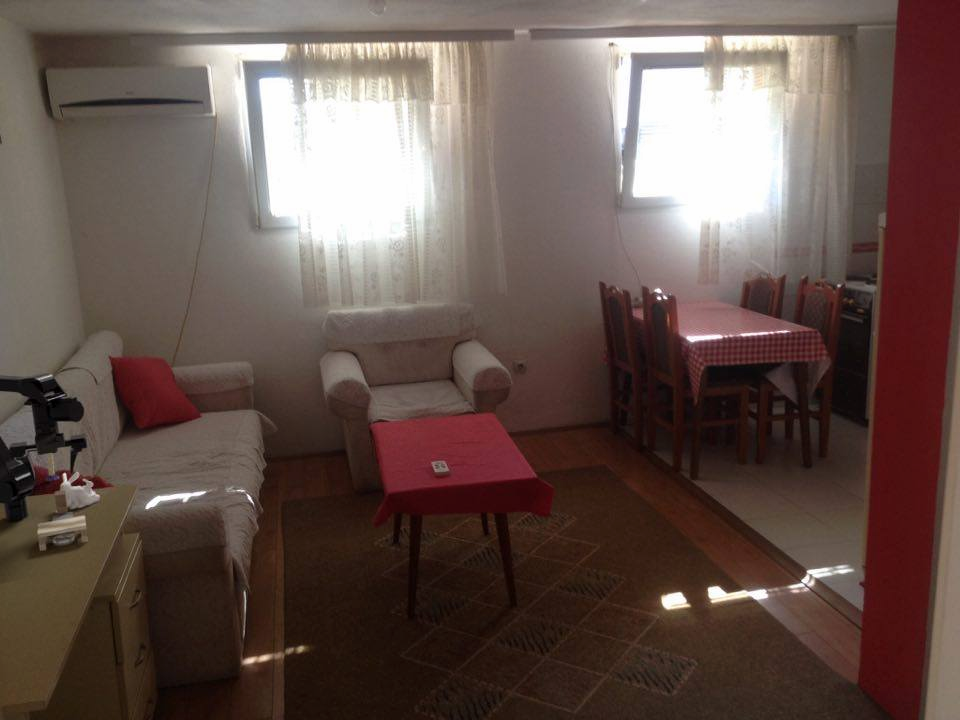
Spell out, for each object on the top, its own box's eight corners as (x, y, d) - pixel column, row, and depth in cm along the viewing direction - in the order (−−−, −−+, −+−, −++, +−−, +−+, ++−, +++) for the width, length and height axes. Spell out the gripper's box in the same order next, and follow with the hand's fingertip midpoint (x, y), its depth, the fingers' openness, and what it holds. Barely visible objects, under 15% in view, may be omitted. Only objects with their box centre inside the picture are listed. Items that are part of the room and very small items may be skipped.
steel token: (53, 541, 216) (52, 536, 216) (74, 537, 218) (74, 531, 218) (53, 548, 211) (52, 542, 211) (75, 543, 214) (74, 538, 213)
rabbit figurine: (54, 513, 235) (49, 481, 234) (54, 505, 242) (49, 473, 240) (101, 505, 241) (96, 473, 239) (99, 497, 247) (95, 466, 246)
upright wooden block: (52, 516, 233) (49, 492, 232) (73, 512, 235) (70, 489, 234) (52, 535, 219) (49, 510, 218) (74, 531, 221) (71, 506, 220)
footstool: (40, 540, 216) (37, 523, 215) (87, 531, 221) (84, 515, 220) (40, 551, 209) (37, 534, 208) (88, 541, 214) (85, 525, 213)
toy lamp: (64, 480, 265) (57, 429, 262) (50, 484, 261) (42, 433, 258) (55, 478, 267) (48, 427, 264) (41, 482, 264) (34, 431, 260)
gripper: (3, 432, 214) (11, 490, 217) (83, 422, 222) (90, 479, 225) (7, 423, 224) (15, 478, 227) (83, 413, 232) (90, 467, 235)
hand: (53, 476), depth 228 cm, fingers open, 9 cm apart
